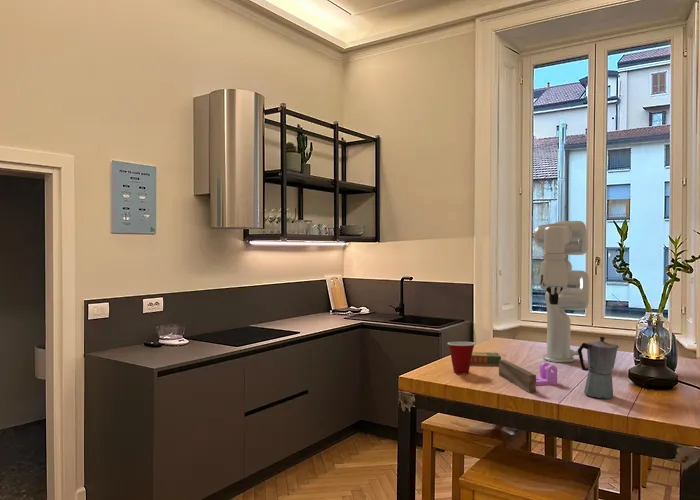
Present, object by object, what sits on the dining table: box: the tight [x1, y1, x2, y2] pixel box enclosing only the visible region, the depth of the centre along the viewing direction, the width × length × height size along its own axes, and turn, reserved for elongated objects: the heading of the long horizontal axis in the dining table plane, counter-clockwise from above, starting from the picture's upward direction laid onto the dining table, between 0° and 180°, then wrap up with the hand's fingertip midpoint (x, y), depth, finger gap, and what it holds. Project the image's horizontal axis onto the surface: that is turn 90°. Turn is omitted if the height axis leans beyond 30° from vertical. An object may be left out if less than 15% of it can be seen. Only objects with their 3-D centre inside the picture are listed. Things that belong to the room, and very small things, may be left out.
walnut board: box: [498, 359, 537, 394], centre depth 196 cm, size 2×24×6 cm, turn 9°
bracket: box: [536, 361, 558, 386], centre depth 197 cm, size 13×6×7 cm, turn 100°
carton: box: [470, 351, 502, 366], centre depth 230 cm, size 8×16×4 cm, turn 84°
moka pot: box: [577, 336, 620, 400], centre depth 181 cm, size 10×15×20 cm, turn 106°
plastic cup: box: [447, 341, 476, 375], centre depth 213 cm, size 11×11×12 cm
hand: (553, 304), depth 212 cm, fingers closed
